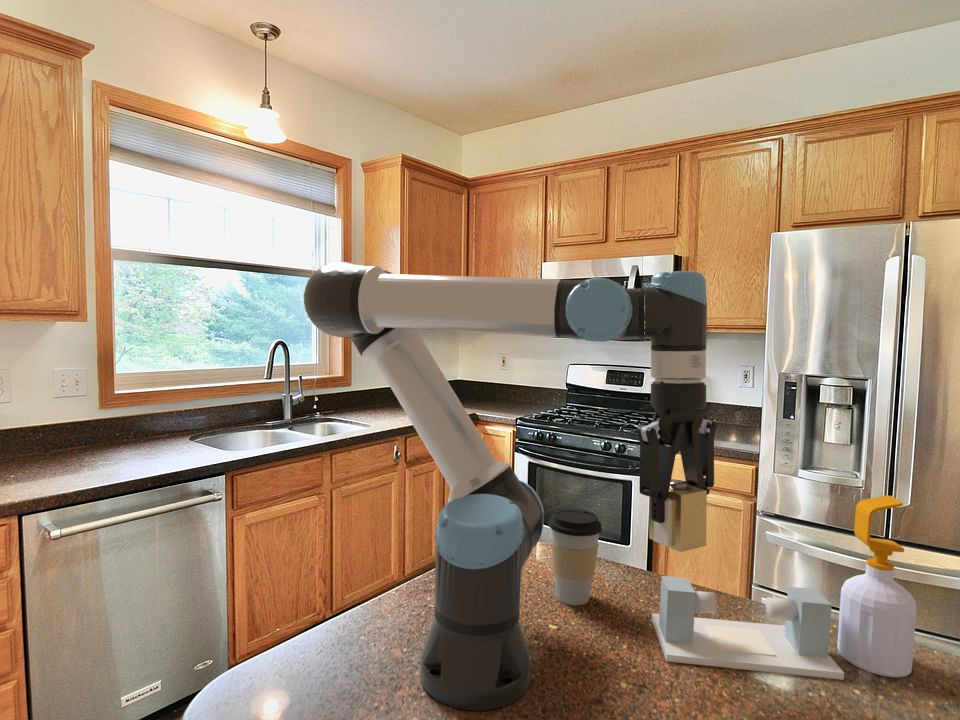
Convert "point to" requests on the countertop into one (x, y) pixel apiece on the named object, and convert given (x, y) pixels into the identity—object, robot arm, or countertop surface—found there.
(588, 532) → the coffee cup
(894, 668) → the soap bottle
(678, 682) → the countertop surface
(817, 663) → the shaft rig
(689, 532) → the block
